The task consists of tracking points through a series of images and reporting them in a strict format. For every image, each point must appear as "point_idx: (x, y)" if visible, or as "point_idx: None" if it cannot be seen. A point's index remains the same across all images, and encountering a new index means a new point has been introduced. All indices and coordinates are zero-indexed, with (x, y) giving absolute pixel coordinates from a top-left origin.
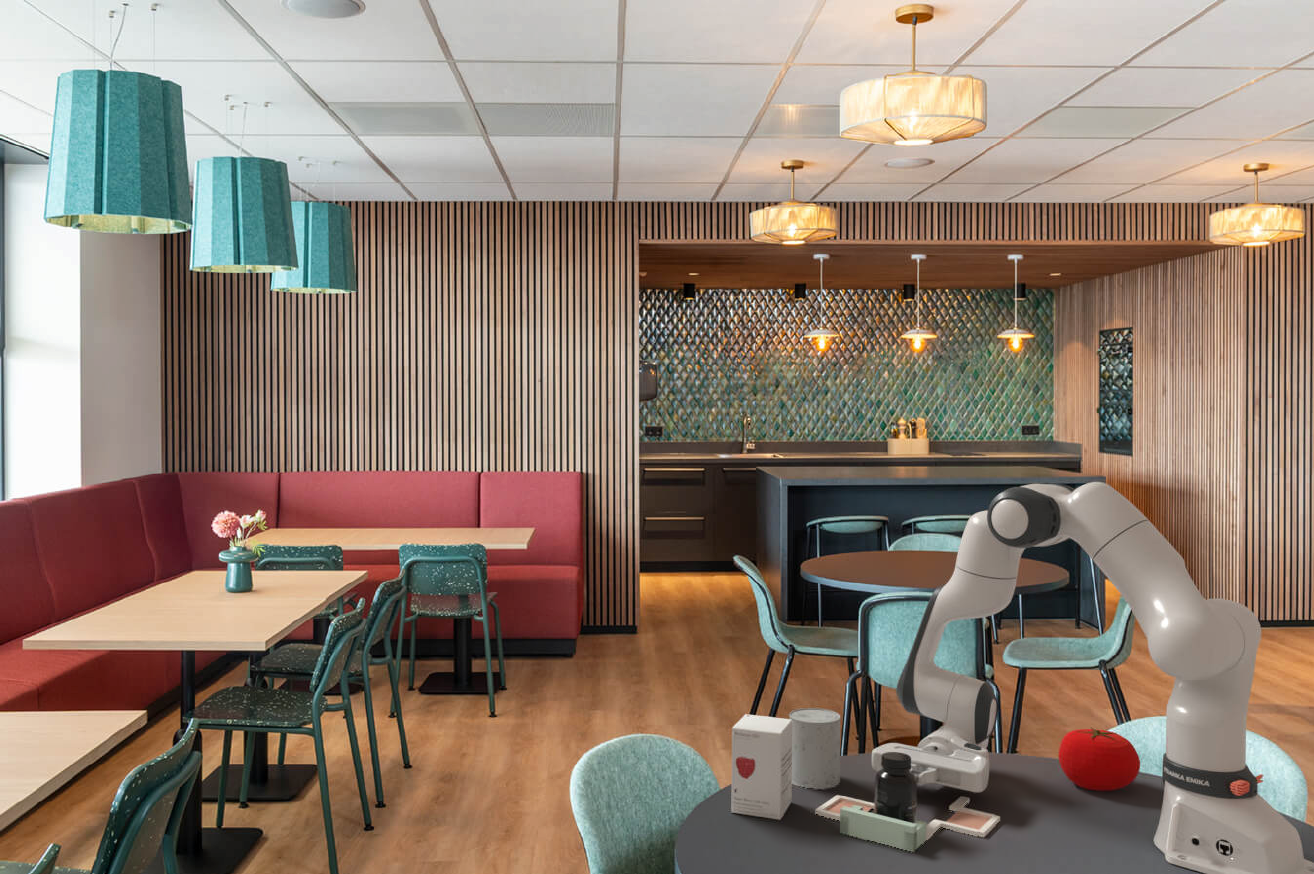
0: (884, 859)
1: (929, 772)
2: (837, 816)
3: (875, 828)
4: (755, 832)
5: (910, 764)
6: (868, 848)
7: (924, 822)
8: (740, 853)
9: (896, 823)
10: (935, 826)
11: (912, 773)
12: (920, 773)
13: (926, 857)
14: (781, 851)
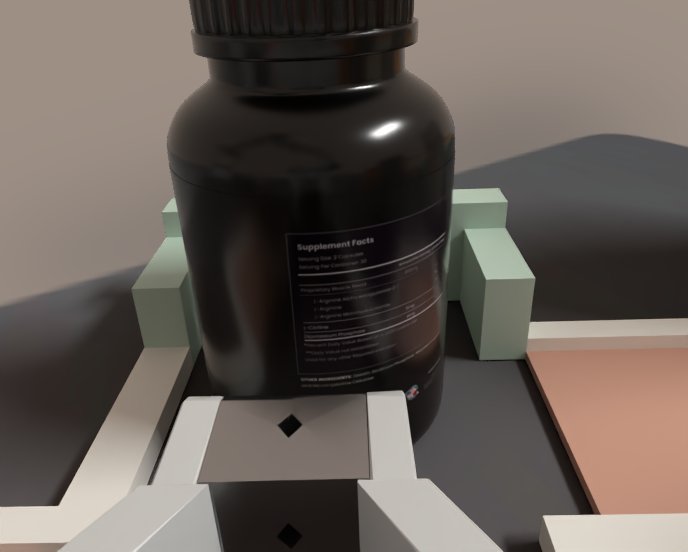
0: None
1: (76, 548)
2: (598, 321)
3: None
4: (676, 206)
5: (193, 11)
6: None
7: (140, 285)
8: (579, 161)
9: None
10: (98, 447)
11: (195, 102)
12: (212, 436)
13: None
14: (522, 186)
